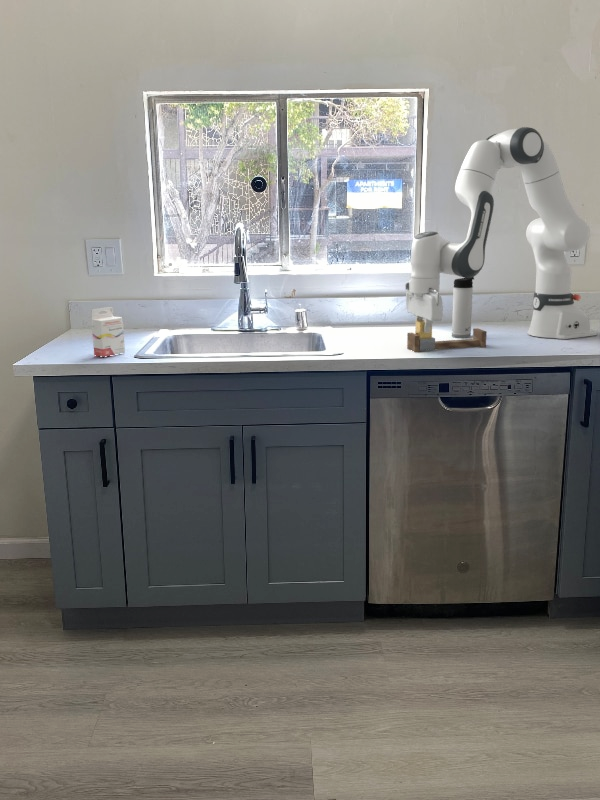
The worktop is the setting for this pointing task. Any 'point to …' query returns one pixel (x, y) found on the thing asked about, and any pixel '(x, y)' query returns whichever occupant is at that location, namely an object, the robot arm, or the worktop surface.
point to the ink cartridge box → (107, 332)
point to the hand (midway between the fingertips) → (423, 331)
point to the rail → (450, 341)
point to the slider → (424, 337)
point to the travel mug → (462, 307)
